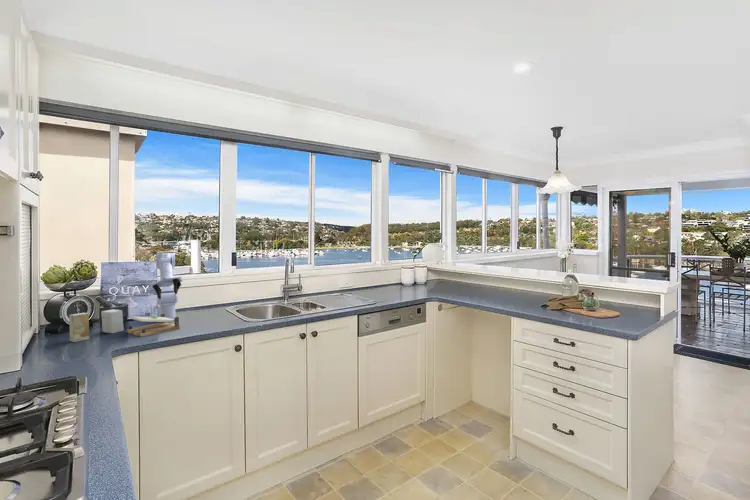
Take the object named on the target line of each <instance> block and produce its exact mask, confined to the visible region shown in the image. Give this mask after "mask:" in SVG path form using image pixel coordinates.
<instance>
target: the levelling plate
mask: <svg viewBox="0 0 750 500" xmlns="http://www.w3.org/2000/svg"><path fill="white" fill-rule="evenodd" d="M129 319H131V320H134V321H137V322H151V323H153V322H154V323H155V322H157V323H161V322H167V323H175V322H174V319H171V318H167V317H158V315H157V316H156V315H152V314H151V315H150V316H130V318H129Z"/></svg>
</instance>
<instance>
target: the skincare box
mask: <svg viewBox="0 0 750 500" xmlns="http://www.w3.org/2000/svg"><path fill="white" fill-rule="evenodd" d="M68 317H69V318H68V319H69V320H68V321H69V341H70V342H72V343H77V342H81V341H82V342H83V341H88V340H90V323H89V322H90V321H89V320H90V319H89V318H90V315H89V313H88V312H80V313H74V314H68Z"/></svg>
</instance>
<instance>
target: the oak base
mask: <svg viewBox="0 0 750 500" xmlns="http://www.w3.org/2000/svg"><path fill="white" fill-rule="evenodd" d="M161 317H165V314H161ZM179 317H180V316H176V317H174V322H173V323H172V322H157V323H151V324H146V325H141V326H136V327H133V325H132V324H131V325H128V328H126V333H127V334H131V335H133V336H136V337H137V336H138V337H140V338H143V337H147V336H152V335H156V334H162V333H166V332H171V331H174V330H175V331H176V330H180V328H181V327H180V318H179Z"/></svg>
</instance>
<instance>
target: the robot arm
mask: <svg viewBox="0 0 750 500" xmlns="http://www.w3.org/2000/svg"><path fill="white" fill-rule="evenodd" d="M155 263H156V268H157V269H158V270H159V273H160V274H159V275H160V277H159V278H160V279H159V280H158V281H156V282H154V283H153V284H151V285H150V288H151V289H152V290H154V292H155V293H156V300H157V305H158V308H157V317H161V314H165V317H167V318H171V319H174V317H177V316H176V304H177V303H178V301H179V300H178V291H179V289H180V287H181V286H182V283H181V282H183V278H182V276H174V275H173V274H174V273H173V269H174V268H175V266H176V255H175V252H168V253H167V252H166V253H165V252H164V253H163V252H162V253H161V252H160V253H158V252H156V254H155ZM172 286H173V287H172Z"/></svg>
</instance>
